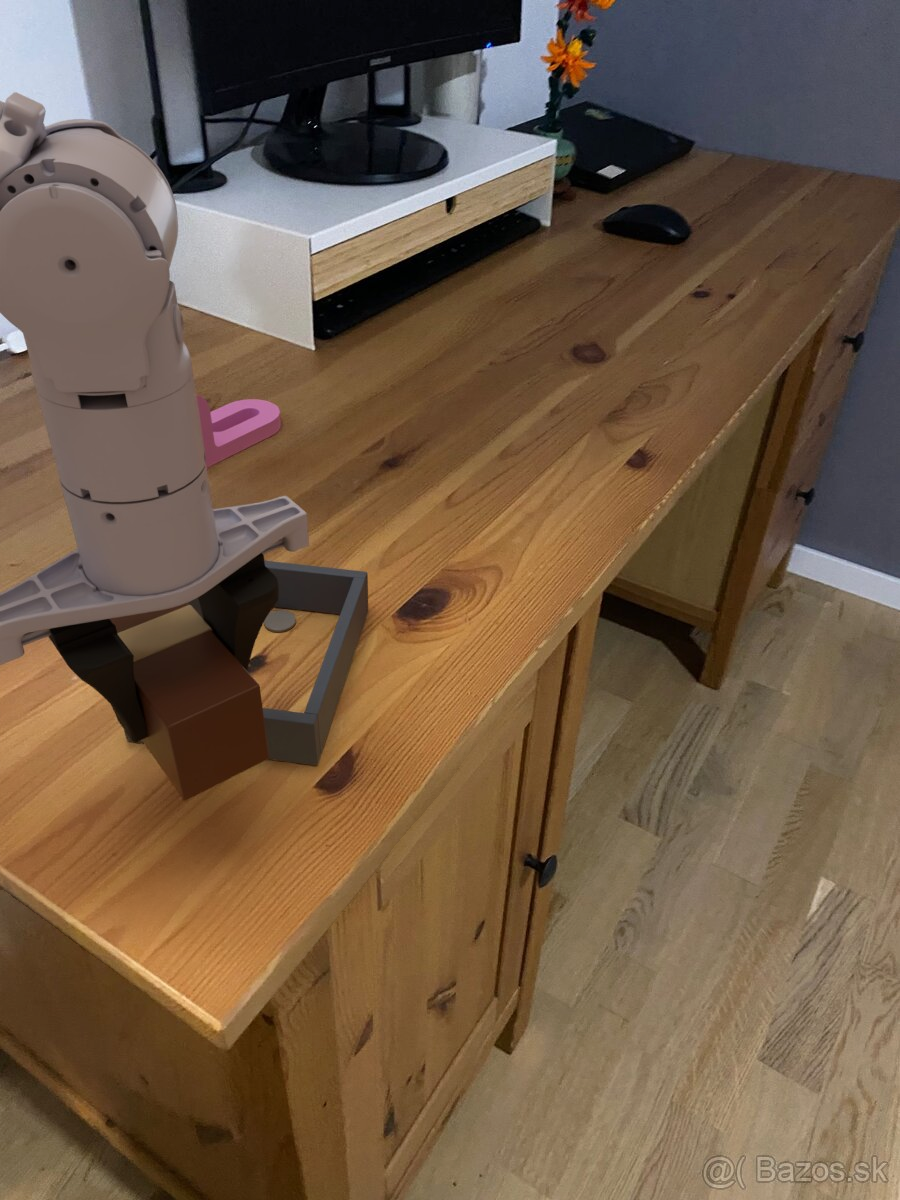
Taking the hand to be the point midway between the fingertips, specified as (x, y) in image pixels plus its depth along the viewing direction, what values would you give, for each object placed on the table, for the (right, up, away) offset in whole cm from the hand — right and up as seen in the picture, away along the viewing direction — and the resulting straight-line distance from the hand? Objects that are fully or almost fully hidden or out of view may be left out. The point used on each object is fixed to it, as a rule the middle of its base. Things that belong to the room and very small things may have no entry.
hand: (183, 705), depth 45 cm
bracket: (-8, +20, +38) cm, 43 cm away
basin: (+1, +1, +14) cm, 14 cm away
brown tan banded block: (0, -1, +1) cm, 1 cm away
